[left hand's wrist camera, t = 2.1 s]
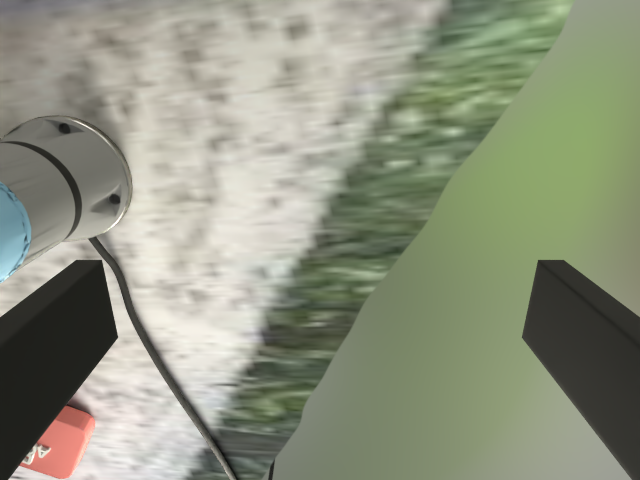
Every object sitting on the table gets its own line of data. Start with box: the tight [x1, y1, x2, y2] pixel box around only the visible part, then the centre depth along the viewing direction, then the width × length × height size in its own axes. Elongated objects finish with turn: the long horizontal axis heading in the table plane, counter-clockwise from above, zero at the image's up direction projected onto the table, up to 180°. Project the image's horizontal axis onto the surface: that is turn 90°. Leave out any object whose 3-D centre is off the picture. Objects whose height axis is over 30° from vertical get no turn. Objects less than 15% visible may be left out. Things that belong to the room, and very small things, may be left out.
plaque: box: [19, 405, 95, 479], centre depth 64 cm, size 18×4×15 cm
